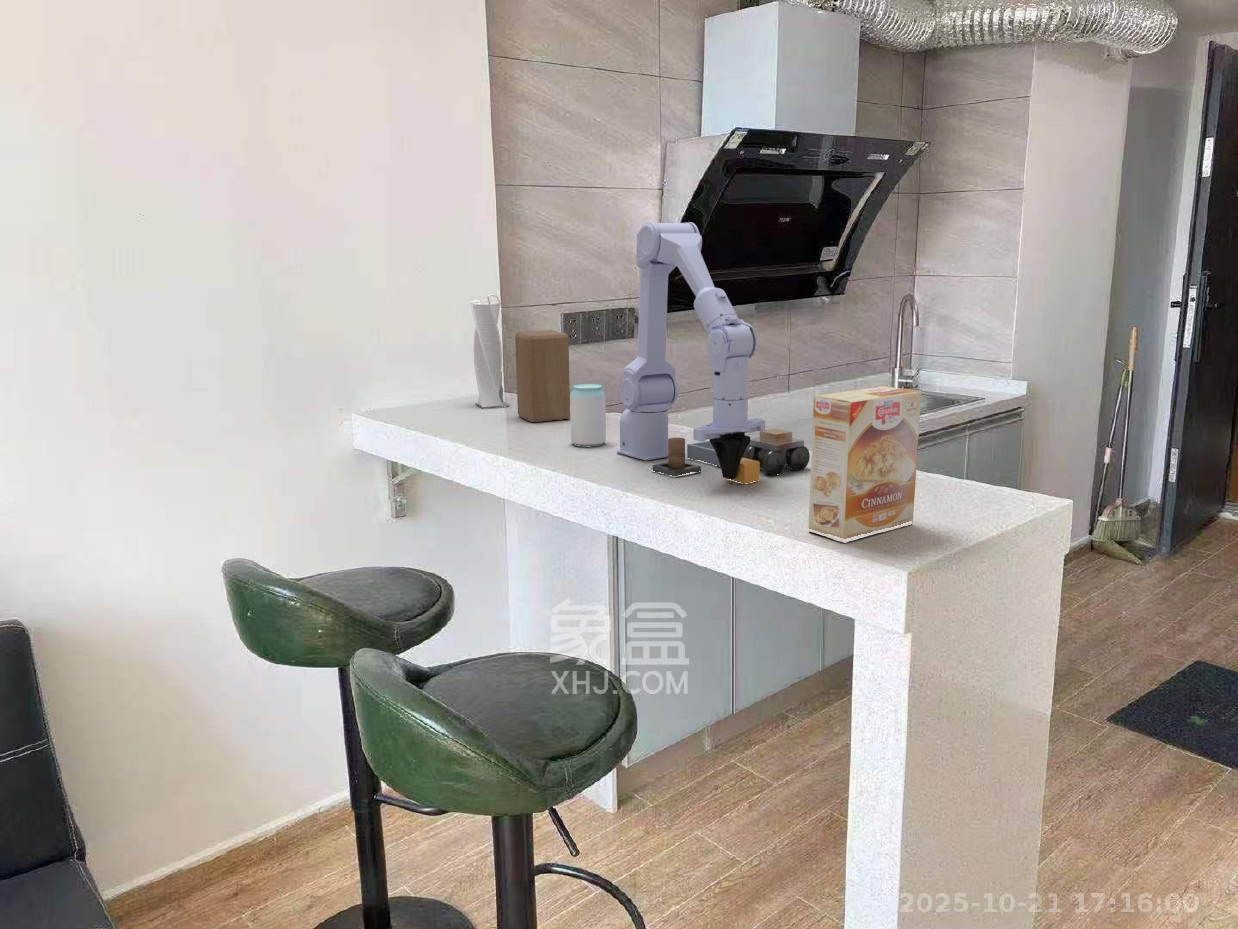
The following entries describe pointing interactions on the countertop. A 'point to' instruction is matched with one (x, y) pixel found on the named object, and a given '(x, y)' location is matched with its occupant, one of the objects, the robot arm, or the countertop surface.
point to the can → (588, 415)
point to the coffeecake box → (863, 460)
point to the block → (542, 375)
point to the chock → (748, 471)
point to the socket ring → (664, 469)
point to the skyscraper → (488, 353)
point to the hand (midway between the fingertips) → (729, 477)
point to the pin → (676, 453)
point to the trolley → (777, 451)
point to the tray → (703, 452)
